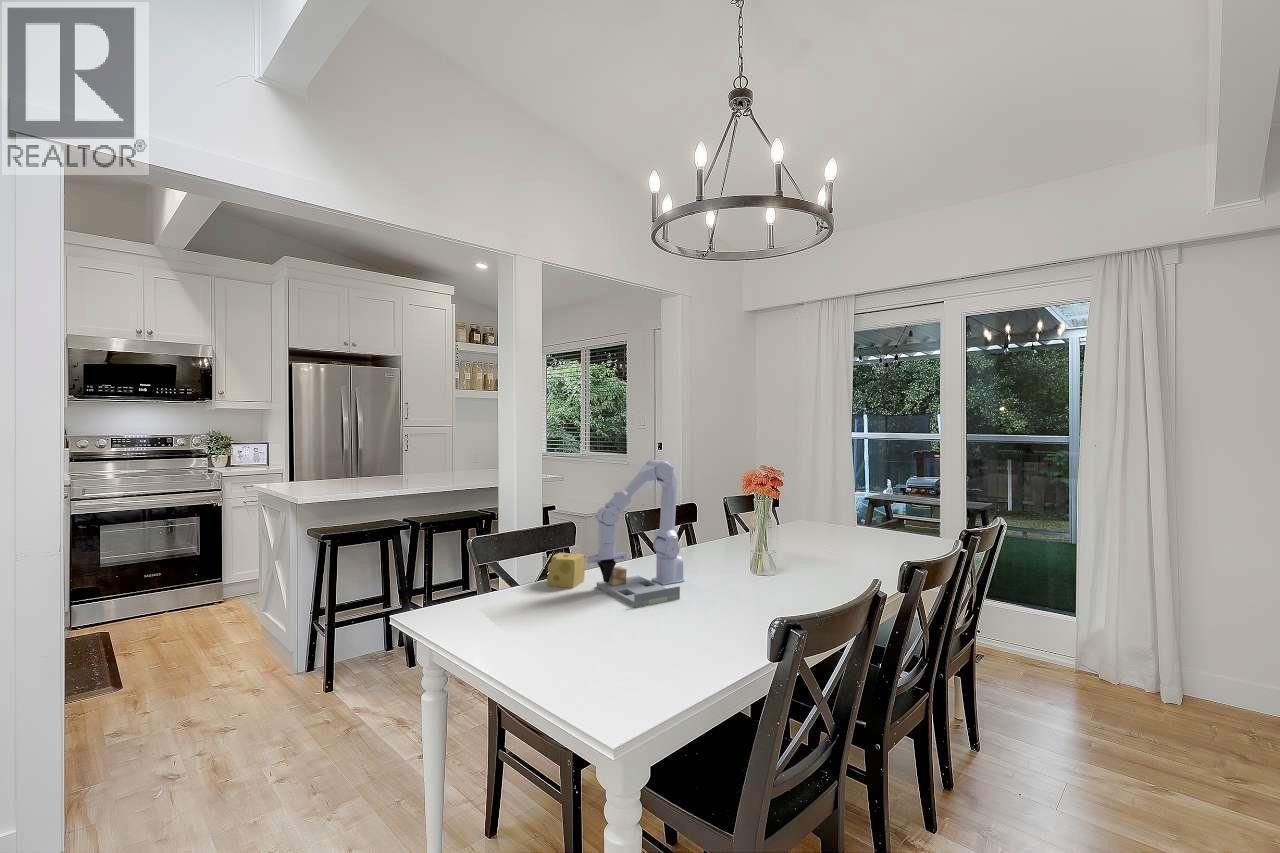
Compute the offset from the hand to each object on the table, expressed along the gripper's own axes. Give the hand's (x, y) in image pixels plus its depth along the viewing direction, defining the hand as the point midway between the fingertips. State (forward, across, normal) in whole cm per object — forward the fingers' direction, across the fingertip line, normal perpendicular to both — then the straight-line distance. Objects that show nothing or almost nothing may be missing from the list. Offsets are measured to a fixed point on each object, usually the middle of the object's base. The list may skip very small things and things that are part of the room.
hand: (606, 581), depth 202 cm
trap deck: (+3, -7, +8) cm, 11 cm away
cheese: (+3, +8, -14) cm, 17 cm away
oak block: (+1, -4, 0) cm, 4 cm away
